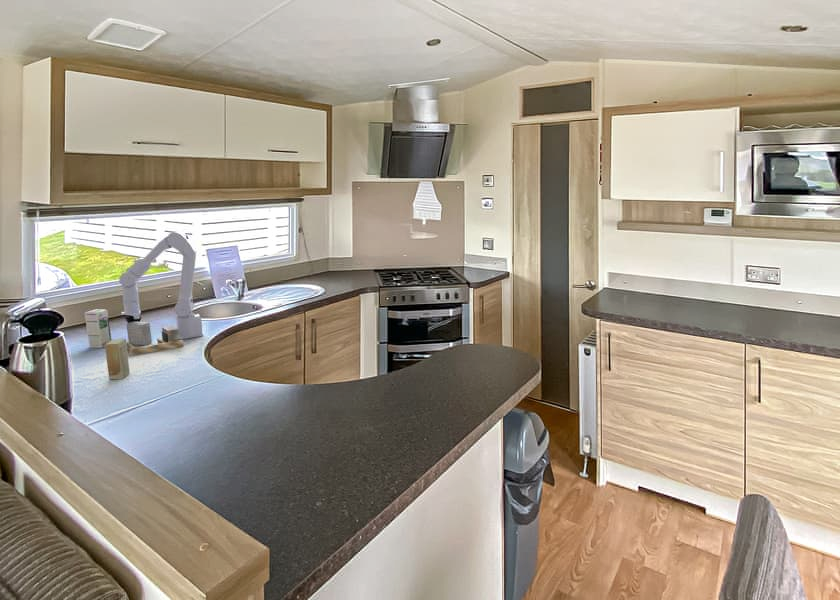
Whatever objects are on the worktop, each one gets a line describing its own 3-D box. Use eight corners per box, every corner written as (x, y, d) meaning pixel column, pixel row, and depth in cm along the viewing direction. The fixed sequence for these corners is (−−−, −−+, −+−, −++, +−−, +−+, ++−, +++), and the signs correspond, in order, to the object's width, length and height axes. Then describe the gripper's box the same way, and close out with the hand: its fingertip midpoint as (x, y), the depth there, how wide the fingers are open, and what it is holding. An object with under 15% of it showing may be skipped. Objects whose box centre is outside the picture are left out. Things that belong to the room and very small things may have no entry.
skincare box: (117, 374, 189) (112, 338, 186) (130, 373, 189) (126, 338, 187) (108, 380, 182) (103, 343, 180) (122, 379, 183) (117, 343, 180)
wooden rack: (176, 341, 230) (174, 324, 228) (183, 346, 222) (181, 329, 221) (124, 349, 218) (122, 332, 216) (131, 355, 210) (129, 337, 209)
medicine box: (152, 343, 228) (150, 322, 226) (143, 346, 223) (141, 324, 222) (137, 341, 230) (134, 321, 228) (128, 344, 226) (126, 323, 224)
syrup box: (101, 348, 221) (97, 312, 218) (88, 347, 222) (84, 311, 219) (112, 344, 226) (108, 309, 223) (99, 343, 227) (95, 308, 225)
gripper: (116, 299, 233) (119, 331, 235) (124, 304, 222) (128, 338, 224) (134, 297, 237) (138, 328, 240) (143, 302, 226) (147, 335, 229)
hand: (134, 333), depth 232 cm, fingers closed
